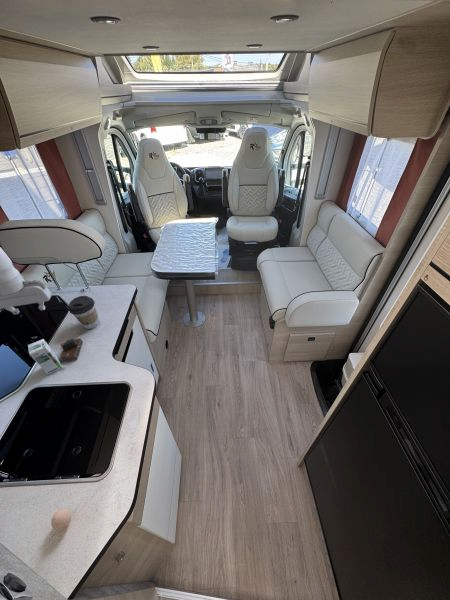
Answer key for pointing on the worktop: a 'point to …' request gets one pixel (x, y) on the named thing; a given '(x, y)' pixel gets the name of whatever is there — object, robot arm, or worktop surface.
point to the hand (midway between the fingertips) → (30, 311)
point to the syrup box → (44, 356)
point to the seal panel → (72, 351)
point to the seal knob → (68, 345)
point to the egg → (61, 519)
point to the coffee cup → (84, 311)
